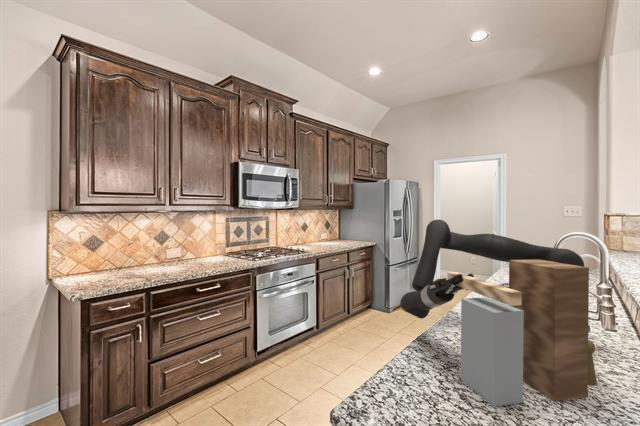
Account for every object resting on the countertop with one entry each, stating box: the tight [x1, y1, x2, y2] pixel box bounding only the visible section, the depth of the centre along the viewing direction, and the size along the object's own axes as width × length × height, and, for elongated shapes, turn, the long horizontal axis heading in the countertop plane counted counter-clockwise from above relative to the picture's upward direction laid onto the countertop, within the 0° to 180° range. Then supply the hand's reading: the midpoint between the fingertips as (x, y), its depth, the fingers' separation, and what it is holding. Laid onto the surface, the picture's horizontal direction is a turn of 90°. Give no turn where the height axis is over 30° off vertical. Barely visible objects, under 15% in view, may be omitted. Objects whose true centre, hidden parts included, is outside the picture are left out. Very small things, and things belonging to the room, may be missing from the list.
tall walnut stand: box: [508, 259, 590, 402], centre depth 83 cm, size 14×10×32 cm
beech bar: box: [446, 271, 522, 306], centre depth 83 cm, size 24×3×3 cm, turn 12°
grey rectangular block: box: [460, 296, 524, 408], centre depth 79 cm, size 12×8×22 cm, turn 12°
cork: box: [588, 339, 598, 386], centre depth 85 cm, size 6×6×11 cm
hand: (467, 277), depth 88 cm, fingers closed on beech bar, 3 cm apart
